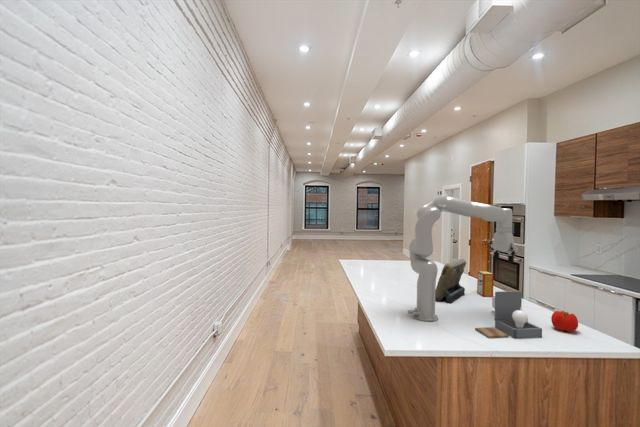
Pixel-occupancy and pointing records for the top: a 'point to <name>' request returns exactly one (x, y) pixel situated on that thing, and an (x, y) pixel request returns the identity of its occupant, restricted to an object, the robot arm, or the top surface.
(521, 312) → the lightbulb
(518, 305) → the equipment case
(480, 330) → the walnut board
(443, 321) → the top surface
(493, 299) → the security camera
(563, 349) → the top surface
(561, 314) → the tomato
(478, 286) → the baking soda box
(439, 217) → the robot arm
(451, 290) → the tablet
